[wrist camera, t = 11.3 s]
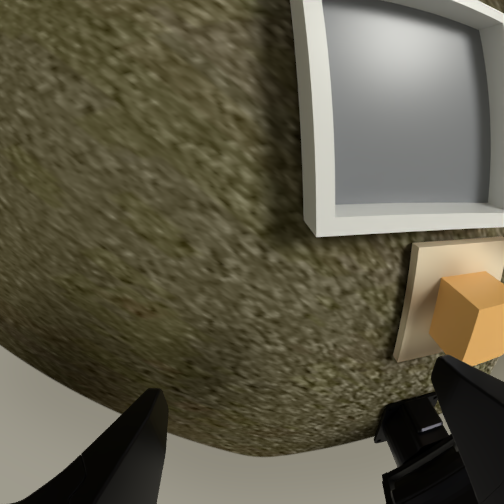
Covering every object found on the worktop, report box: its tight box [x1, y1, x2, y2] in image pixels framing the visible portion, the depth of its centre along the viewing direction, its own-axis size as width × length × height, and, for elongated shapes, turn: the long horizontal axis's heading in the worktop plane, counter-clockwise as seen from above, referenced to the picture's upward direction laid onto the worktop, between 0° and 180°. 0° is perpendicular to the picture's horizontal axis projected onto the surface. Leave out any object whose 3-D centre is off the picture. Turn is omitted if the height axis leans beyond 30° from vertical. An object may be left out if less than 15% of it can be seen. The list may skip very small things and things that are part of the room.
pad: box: [393, 236, 504, 362], centre depth 21 cm, size 10×10×1 cm
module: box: [429, 271, 504, 366], centre depth 19 cm, size 5×5×5 cm
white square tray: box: [290, 0, 504, 237], centre depth 15 cm, size 16×16×4 cm
